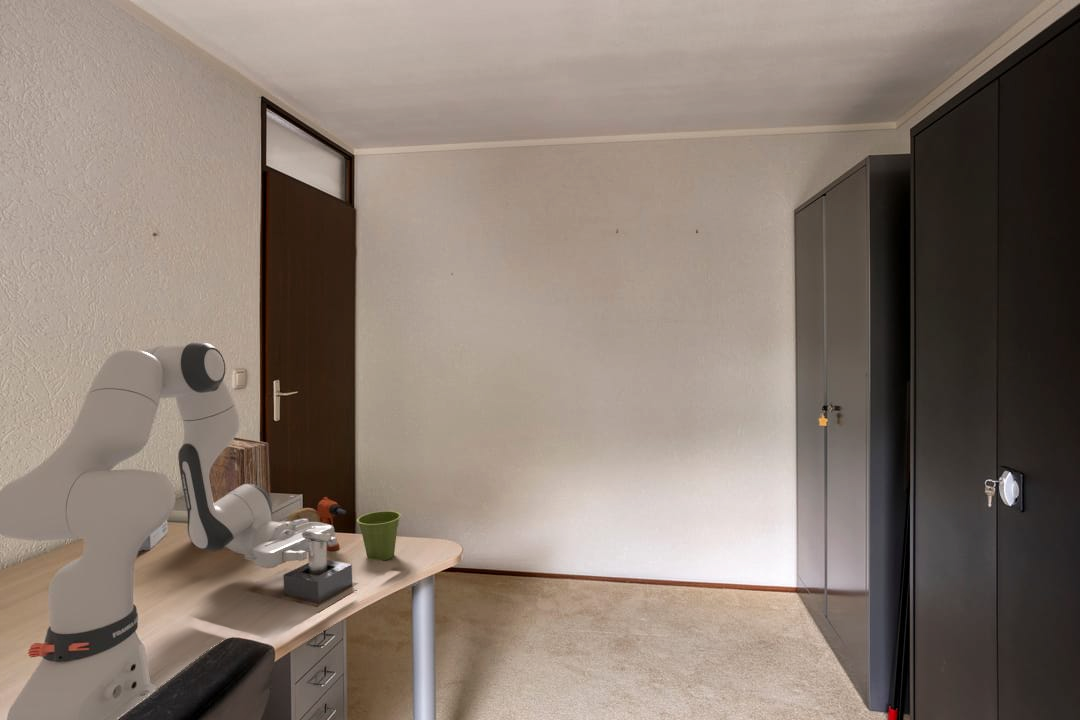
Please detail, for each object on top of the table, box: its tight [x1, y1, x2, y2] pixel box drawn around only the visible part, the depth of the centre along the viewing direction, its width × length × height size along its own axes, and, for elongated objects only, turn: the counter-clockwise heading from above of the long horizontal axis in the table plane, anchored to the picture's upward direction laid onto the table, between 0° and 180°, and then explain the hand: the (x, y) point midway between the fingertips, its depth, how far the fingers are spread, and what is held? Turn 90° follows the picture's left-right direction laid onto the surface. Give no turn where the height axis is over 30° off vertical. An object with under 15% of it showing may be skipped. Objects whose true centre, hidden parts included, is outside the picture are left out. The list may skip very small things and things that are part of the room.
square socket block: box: [283, 559, 353, 604], centre depth 133 cm, size 11×11×5 cm
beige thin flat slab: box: [241, 568, 359, 614], centre depth 136 cm, size 24×13×2 cm, turn 66°
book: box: [209, 436, 271, 503], centre depth 174 cm, size 25×9×30 cm, turn 54°
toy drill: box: [316, 496, 347, 552], centre depth 161 cm, size 5×19×15 cm, turn 40°
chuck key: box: [302, 531, 331, 576], centre depth 133 cm, size 8×4×14 cm, turn 66°
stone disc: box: [284, 507, 322, 523], centre depth 170 cm, size 10×4×10 cm, turn 135°
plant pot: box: [356, 510, 402, 562], centre depth 157 cm, size 12×12×11 cm
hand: (320, 549), depth 132 cm, fingers open, 8 cm apart
